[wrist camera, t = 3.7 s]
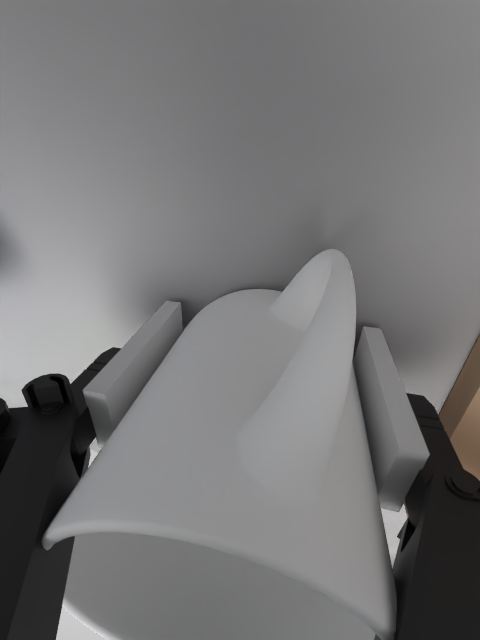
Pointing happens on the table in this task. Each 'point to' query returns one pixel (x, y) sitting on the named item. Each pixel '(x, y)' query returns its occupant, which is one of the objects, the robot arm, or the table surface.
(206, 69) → the table surface
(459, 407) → the ledge board
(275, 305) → the mug
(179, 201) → the table surface
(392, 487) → the robot arm
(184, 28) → the table surface
